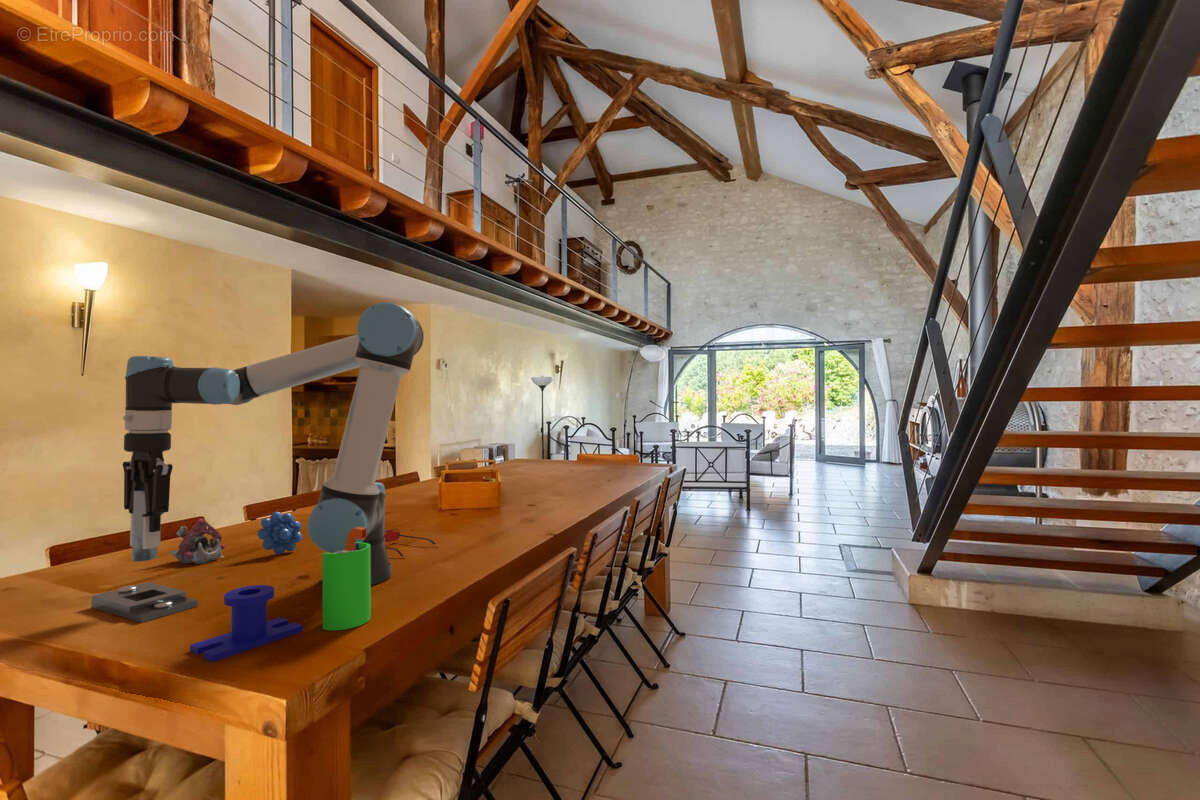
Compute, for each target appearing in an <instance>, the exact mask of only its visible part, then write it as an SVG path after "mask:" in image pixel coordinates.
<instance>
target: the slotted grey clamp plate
mask: <svg viewBox="0 0 1200 800" xmlns="http://www.w3.org/2000/svg"><path fill="white" fill-rule="evenodd" d="M198 600H199V599H193V598H189V597H187V591H185V590H181V589H177V588H173V587H170V586H165V585H161V584H157V583H153V582H149V581H147V582H145V583H140V584H136V585H135V584H134V585H133V584H131V585H126V586H121V587H119V588H118V589H115V590H110V591H107V592H103V593H98V594H94V595H91V608H92V607H93V608H92V609H94V608H96V609H95V610H97V609H99V610H98V611H100V610H102V611H101V612H104V613H107V612H108V613H107V614H111V615H113V616H118V617H120V616H121V617H120V618H123V617H125V618H124V619H127V618H128V619H127V620H130V619H131V620H130V621H133V620H135V621H134V622H136V621H138V622H137V623H140V622H142V623H145V622H144V621H146V622H148V620H149V621H152V620H155V618H156V619H158V617H159V618H162V617H161V616H163V617H165V616H169V615H172V614H173V615H174V614H175V613H179V612H182V611H186V610H189V609H192V608H193V609H194V608H196V607H198V606H199V604H198V602H199V601H198ZM151 619H152V620H151Z"/></svg>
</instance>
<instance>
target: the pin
mask: <svg viewBox="0 0 1200 800" xmlns="http://www.w3.org/2000/svg"><path fill="white" fill-rule="evenodd" d="M142 514H147V513H146V501H145V489H142V490H135V491H134V503H133V537H132V546H131V547H132V548H131V561H132V562H148V561H152V560H155V559H157V557H158V547H154V548H149V549H143V519H144V517H143V516H142Z"/></svg>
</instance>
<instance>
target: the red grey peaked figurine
mask: <svg viewBox="0 0 1200 800" xmlns="http://www.w3.org/2000/svg"><path fill="white" fill-rule="evenodd" d="M206 528H207V529H206ZM176 535H177V536H178V537H179V538H181V541H180V542H179V543H178V544H179V545H178V549H173V550H170V552H169V553H170V554H171V555H172V556H173V557H174V558H176V559H177V560H178V561H179V562H180V563H181V564H182V563H186V564H185V565H188V564H187V563H195V564H194V565H202V564H203V563H204V564H207V562H208V563H210V562H214V560H215V561H218V560H219V559H223V558H225V557H224V555H222V551H224V549H225V548H226V546H225V544H221V542H222V539H223V538H222V534H221V533H220V532H219V530H217V529H216V528H215V527H214V526H212V525H211V524H210V523H209V522H208V521H207V520H206V519H204V518H200V519H198V520H197V521H196V523H195V524H194V525H193V526H192V528H190V530H189V531H188V527H187V526H185V525H183V526H180V529H179V530H178V531H176ZM207 535H210V536H212V537H211V538H210V539H209V540H208V537H207ZM219 557H220V558H219ZM222 557H223V558H222Z"/></svg>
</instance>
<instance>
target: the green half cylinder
mask: <svg viewBox="0 0 1200 800" xmlns="http://www.w3.org/2000/svg"><path fill="white" fill-rule="evenodd" d="M364 538H366V528H364V527H356V528H354V529H352V530H350V532H349V534H348V537H347V542H346V548H345V550H343V551H337V552H333V553H330V552H327V551H325V552H322V630H325V631H343V630H349V629H350V630H351V629H353V628H357V627H360V626H362V625H365V624H366V623H368V622H369V621H370V620H371V618H372V617H371V615H372V614H371V613H372V611H371V610H372V609H371V608H372V607H371V606H372V604H371V603H372V602H371V598H372V596H371V595H372V594H371V593H372V592H371V591H372V590H371V589H372V588H371V587H372V585H371V552H370V544H368V543H364V542H356V539H364Z"/></svg>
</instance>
